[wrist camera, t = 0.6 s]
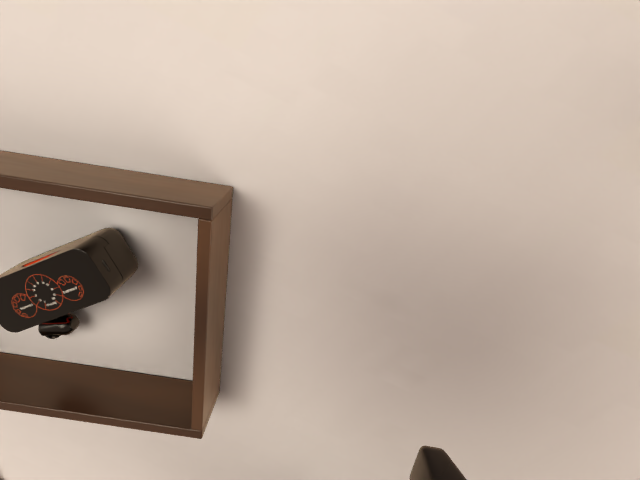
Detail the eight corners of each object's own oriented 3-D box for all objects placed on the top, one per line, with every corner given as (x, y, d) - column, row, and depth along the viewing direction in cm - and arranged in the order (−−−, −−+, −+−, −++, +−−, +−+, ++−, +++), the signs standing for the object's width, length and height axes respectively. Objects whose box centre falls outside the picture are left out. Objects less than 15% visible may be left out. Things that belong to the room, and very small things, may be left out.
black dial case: (10, 265, 22) (-42, 294, 19) (119, 220, 21) (81, 244, 18) (60, 331, 24) (19, 368, 21) (164, 294, 22) (136, 328, 19)
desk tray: (219, 392, 25) (201, 439, 22) (-43, 353, 25) (-100, 395, 21) (233, 186, 20) (212, 207, 17) (-94, 135, 20) (-180, 146, 16)
